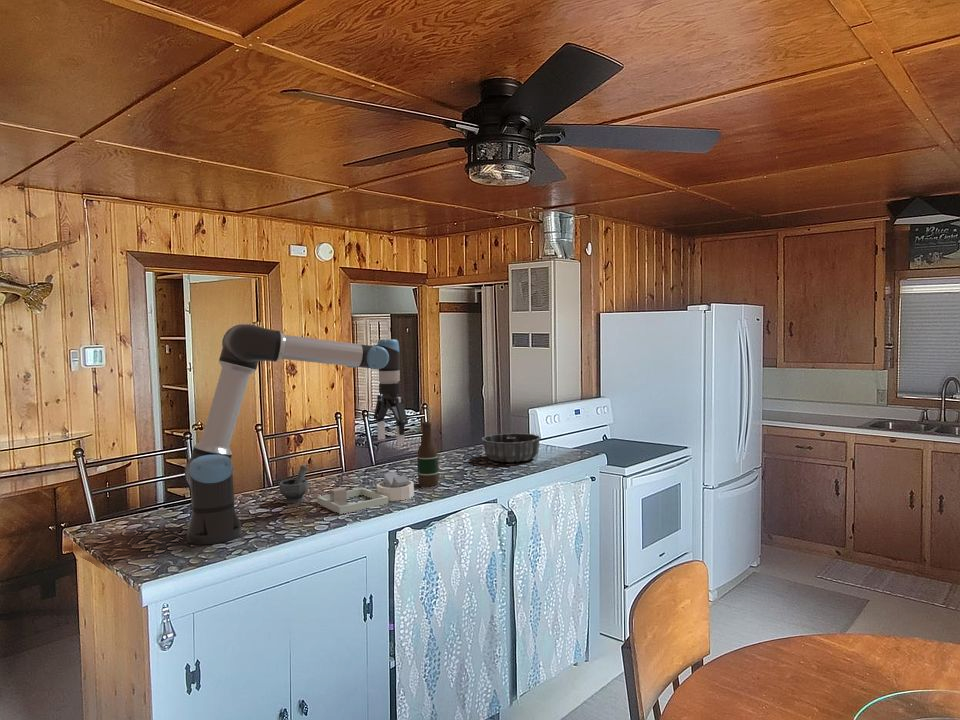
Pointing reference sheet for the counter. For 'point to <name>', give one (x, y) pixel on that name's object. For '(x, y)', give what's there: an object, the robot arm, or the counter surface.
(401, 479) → the grey rectangular block
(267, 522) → the counter surface
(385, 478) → the light grey cuboid
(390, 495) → the bowl
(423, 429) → the beer bottle
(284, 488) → the mortar and pestle
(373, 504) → the square frame
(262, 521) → the counter surface
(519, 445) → the bundt pan
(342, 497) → the taupe block
